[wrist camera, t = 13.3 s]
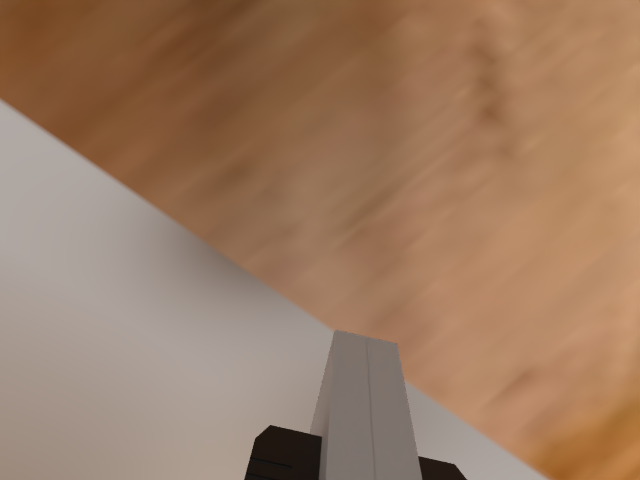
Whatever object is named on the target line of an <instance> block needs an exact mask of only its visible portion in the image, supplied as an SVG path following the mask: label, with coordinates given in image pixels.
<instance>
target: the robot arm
mask: <svg viewBox="0 0 640 480" xmlns="http://www.w3.org/2000/svg"><path fill="white" fill-rule="evenodd" d="M244 480H467V479H466V478H465V477H464V475H463V474H462V473H461V472H460V470H459V469H458V468H457V467H456V465H454V464H451V463H447V462H442V461H437V460H433V459H429V458H424V457H419V456H418V454H417V448H416V443H415V437H414V432H413V426H412V421H411V416H410V410H409V405H408V399H407V394H406V388H405V383H404V377H403V372H402V367H401V361H400V356H399V350H398V345H397V343H392V342H388V341H384V340H379V339H375V338H370V337H366V336H361V335H357V334H353V333H348V332H344V331H339V330H335V331H334V335H333V340H332V343H331V347H330V351H329V355H328V360H327V364H326V368H325V372H324V376H323V380H322V385H321V388H320V392H319V396H318V400H317V404H316V408H315V413H314V417H313V421H312V425H311V429H310V434H308V433H303V432H299V431H294V430H290V429H285V428H281V427H276V426H272V425H270V426H269V427H268V428H267V429H266V430H264V431H263V432H262V433H261V434H260V435H259V436H257V437H256V439H255V442H254V445H253V449H252V453H251V457H250V461H249V464H248V468H247V472H246V475H245V479H244Z"/></svg>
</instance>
